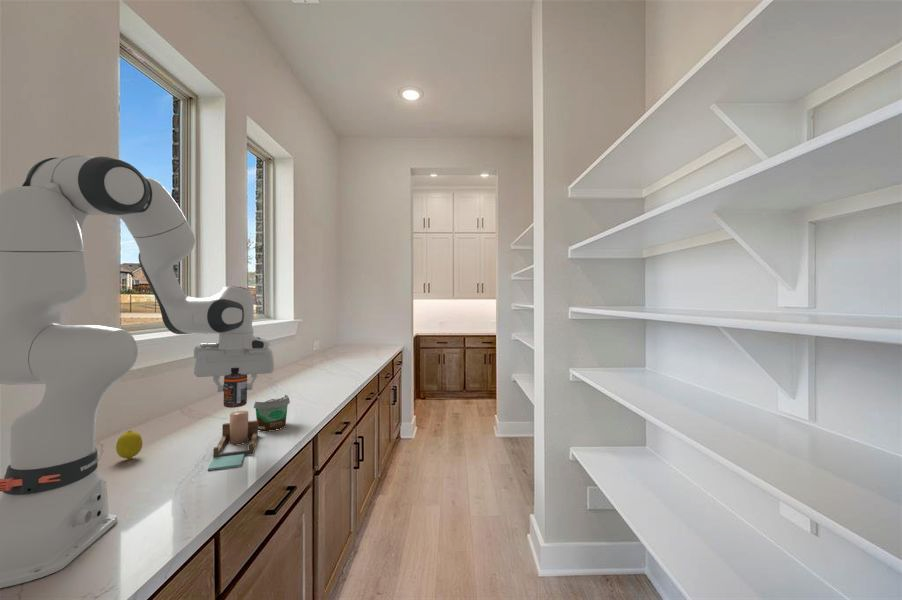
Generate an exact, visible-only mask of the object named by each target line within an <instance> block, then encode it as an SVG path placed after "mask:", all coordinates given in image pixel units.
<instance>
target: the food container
mask: <svg viewBox="0 0 902 600" xmlns="http://www.w3.org/2000/svg"><path fill="white" fill-rule="evenodd" d="M290 403H291V400H290V397H289V396H288V395H287V394H284V397H281V398H271V399H268V400H266V401H254V404H253V409H255V414H256V415H255V416H256V420H258V430H260V431H259V432H263V431H266V432H270V431H269V430H275V431H277V430H276V429H279V430H281V429H280V428H282V427H284V426H285V427H286V423H287V414H288V405H289V404H290ZM285 427H284V428H285ZM282 429H283V428H282Z"/></svg>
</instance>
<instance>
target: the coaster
mask: <svg viewBox="0 0 902 600" xmlns="http://www.w3.org/2000/svg"><path fill="white" fill-rule="evenodd" d="M244 458H245V455H244V454H238V455H230V456H222V457H214V458H213V457H212V460H211V462H210V464H209V466H208V468H207V471H208V472H210V471H209V470H211V471H216V470H215V469H219V470H225V469H224V468H226V469H231V468H230V467H233V468H239V466H241V467H242V464H243V462H244ZM242 461H243V462H242Z"/></svg>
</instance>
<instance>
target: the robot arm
mask: <svg viewBox="0 0 902 600" xmlns="http://www.w3.org/2000/svg"><path fill="white" fill-rule="evenodd" d="M108 215H109V216H110V215H113V216H115V215H116V216H117V217H118V218H119V219H121V221H123V223H124V224H125V226H126V228H127V230H128V231H129V233H130V234H131V236H132V238H133V239H134V241H135V243H136V245H137V247H138V250H139V253H138V262H139V265H140V269H141V272H142V273H143V275H144V277H145V280H146V281H147V282H146V283H148V286H149V287H150V290H151V291H152V293H153V295H154V297H155V300H156V302H157V305H158V306H159V309H160V313H161V318H162V321H163V324H164V326H165V328H167V330H169V331H170V332H171V333H173V334H176V335H189V334H190V335H191V334H192V335H193V334H204V335H205V334H218V342H215V343H214V342H213V343H200V344H198V345H197V346H195V348H194V350H193V357H194V358H195V362H194V369H193V371H194V372H193V375H195V376H196V378H208V377H209V378H210V377H213V378H212V380H213V382H214V383H215V385H216V386H217V392H218V393H220V392H221V393H224V383H223V384H222V383H221V382H220V379H221V377H224V376H227V375H230V374H231V373H232V372H231V368H239V372H238V373H239V374H242V375H247V376H248V375H250V377H251V381H250V382H247V391H252V390H253V389H254V388H253V386H254V382H255V381H256V379H257V378H258V375H262V374H272V373H273V372H274V371H275V359H274V353H273V351H272V350H271V348H270V345H271V344H270V340H269V339H266V338H262V337H259V336H254V328H253V321H254V315H255V314H254V310H255V309H254V308H255V307H254V299H253V294H252V292H251V290H250V289H248V288H245V287H242V286H236V285H235V286H234V285H226V286H223V287H222V288H221V291H220V292H218V293H216V294H214V295H212V296H210V297H192V296H189V295H188V294H185V292H184V291H183V290H182V287H181V285H180V283H179V280H178V278H177V275H176V273H175V271H174V265H176V264H178V263H180V262H181V261H183V260H184V259H186V258H187V257H189V255H190V254H191V252H192V251H193V249H194V247H195V244H196V240H195V239H196V238H195V234H194V232H193V229H192V227H191V226H190V223H189V222H188V220H187V218H186V217H185V215H184V212H183V211H182V210H181V208H180V207H179V205H178V203H177V202H176V201H175V199H174V197H172V195H171V194H170V193H169V191H168V190H167V189H166V188H165V186H163V184H162V183H161V182H159V181H158V180H156V179H155V178H151V177H148V176H147V177H145V176H144V175H143V174H142V173H141V172H140V171H139V169H137V168H136V167H135V166H134V165H132V164H130V163H129V162H126V161H124V160H122V159H119V158H114V157H110V156H87V155H67V156H60V157H48V158H45V159H44V160H43V159H42V160H41V161H39V162H37V163H35V164H34V165H33V166H32V167H31V168H30V169H29V171H28V173H27V174H26V178H25V181H24V182H23V183H22V185H21V186H16V187H11V188H7V189H5V190H3V191H1V192H0V385H5V386H15V385H18V386H20V385H25V386H26V385H44V387H45V390H44V394H43V397H42V399H41V400H40V403H38V404H37V405H35V406H32V407H31V408H29V409H27V410H26V411H25V412H23V413H21V414H20V415H19V416H17V417H16V418H15V419H14V421H13V422H12V424H11V426H10V449H9V450H10V451H9V452H10V455H9V457H10V458H9V459H10V463H9V465H8V466H7V468H6V471H5V474H4V476H3V478H1V479H0V492H2V494H1V495H0V589H2V588H7V587H12V586H17V585H21V584H24V583H28V582H31V581H35V580H36V579H40V578H43V577H46V576H49V575H51V574H53V573H57V572H59V571H61V570H62V569H64V568H65V567H66V566H68V565H69V564H70V563H71V562H72V561H73V560H75V559H77V557H78V556H79V555H80V554H81V553H83V552H84V551H85V550H86V549H88V548H89V547H90V546H91V545H93V543H95V542H96V541H97V540H98V539H99V538H100V537H101V536H102V535H104V534H105V533H106V532H107V531H108V530H109V529H111V528H112V527H113V526H114V525H116V524H117V523H118V516H117V514H112V513H110V512H109V499H108V497H109V496H108V487H107V481H106V479H104V478H103V477H102V476H100V475H99V473H98V471H97V469H98V463H99V454H98V449H97V448H95V443H96V441H95V439H96V438H95V437H96V423H97V414H98V411H99V406H100V404H101V402H102V399H103V398H104V397H105V395H106V393H107V391H108V390H109V389H110V388H111V387H112V385H114V384H115V383H117V381H118V380H120V379H121V378H123V377H124V376H126V375H127V374H128V373H129V372H130V371H131V370H132V369H133V367H134V366H135V364H136V362H137V359H138V354H139V350H138V345H137V341H136V339H135V338H134V336H132V334H131V333H130V332H129V331H127V330H125V329H121V328H117V327H112V326H106V325H98V324H80V325H79V324H70V325H68V324H62V322H61V321H62V320H61V319H62V313H63V311H64V309H65V308H66V306H68V305H70V304H73V303H74V302H76V301H78V300H79V299H81V298H82V297H83V296H84V295H85V294H86V292H87V290H88V289H89V283H88V275H87V274H88V273H87V266H86V256H85V248H84V241H83V238H82V237H83V236H82V230H83V229H82V228H83V223H84V221H85V219H86V218H87V217H88V216H108Z"/></svg>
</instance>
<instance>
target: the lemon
mask: <svg viewBox="0 0 902 600" xmlns="http://www.w3.org/2000/svg"><path fill="white" fill-rule="evenodd" d="M142 448H143V438H142V435H141V434H140V433H139V432H137V431H133V430H130V429H129V430H127V431H126V432H124V433H122V434H121V435H120V436H119V437H118V439H117V441H116V445H115V449H116V453H117V455H118V456H119V457H120V458H122V459H126V460H131V459H133V457H135V456H137V455H138V454H139V453H140V452H141V450H142Z"/></svg>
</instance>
